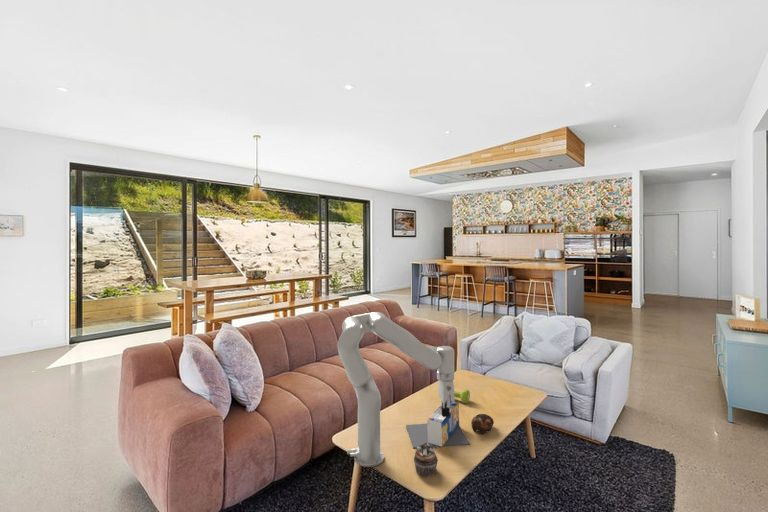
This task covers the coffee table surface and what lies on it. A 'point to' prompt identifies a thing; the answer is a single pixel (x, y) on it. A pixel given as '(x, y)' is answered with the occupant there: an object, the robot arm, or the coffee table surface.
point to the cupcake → (425, 460)
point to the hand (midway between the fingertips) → (445, 415)
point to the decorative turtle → (482, 423)
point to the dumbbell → (463, 395)
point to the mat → (420, 436)
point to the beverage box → (442, 425)
